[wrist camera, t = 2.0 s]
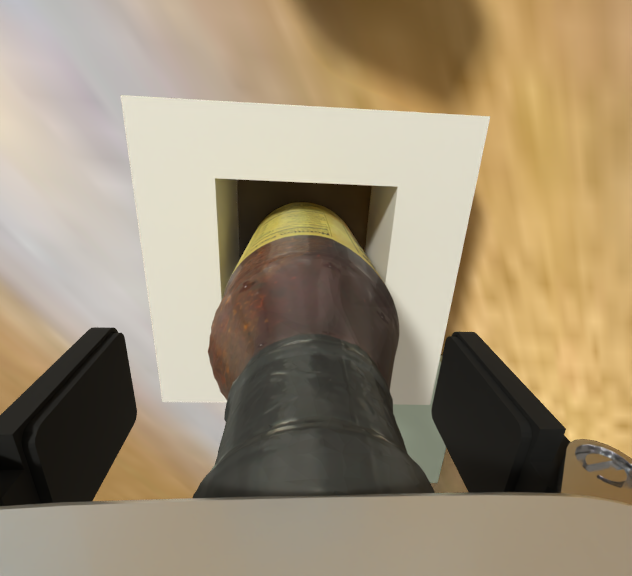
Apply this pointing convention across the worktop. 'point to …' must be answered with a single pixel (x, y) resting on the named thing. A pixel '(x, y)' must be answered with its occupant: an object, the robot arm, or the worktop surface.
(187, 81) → the worktop surface
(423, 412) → the pad
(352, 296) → the sauce bottle
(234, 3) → the worktop surface
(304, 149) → the holder
